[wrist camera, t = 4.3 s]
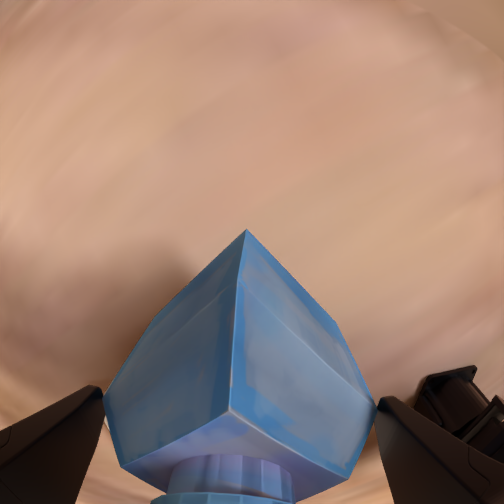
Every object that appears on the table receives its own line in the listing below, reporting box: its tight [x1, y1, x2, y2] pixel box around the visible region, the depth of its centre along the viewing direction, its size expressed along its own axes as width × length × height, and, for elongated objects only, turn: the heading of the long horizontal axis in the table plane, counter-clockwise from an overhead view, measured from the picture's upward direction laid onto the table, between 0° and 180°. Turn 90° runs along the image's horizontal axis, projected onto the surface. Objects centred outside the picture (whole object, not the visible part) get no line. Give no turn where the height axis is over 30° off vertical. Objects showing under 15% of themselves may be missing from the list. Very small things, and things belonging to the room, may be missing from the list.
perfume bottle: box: [102, 229, 378, 504], centre depth 8 cm, size 6×6×12 cm
